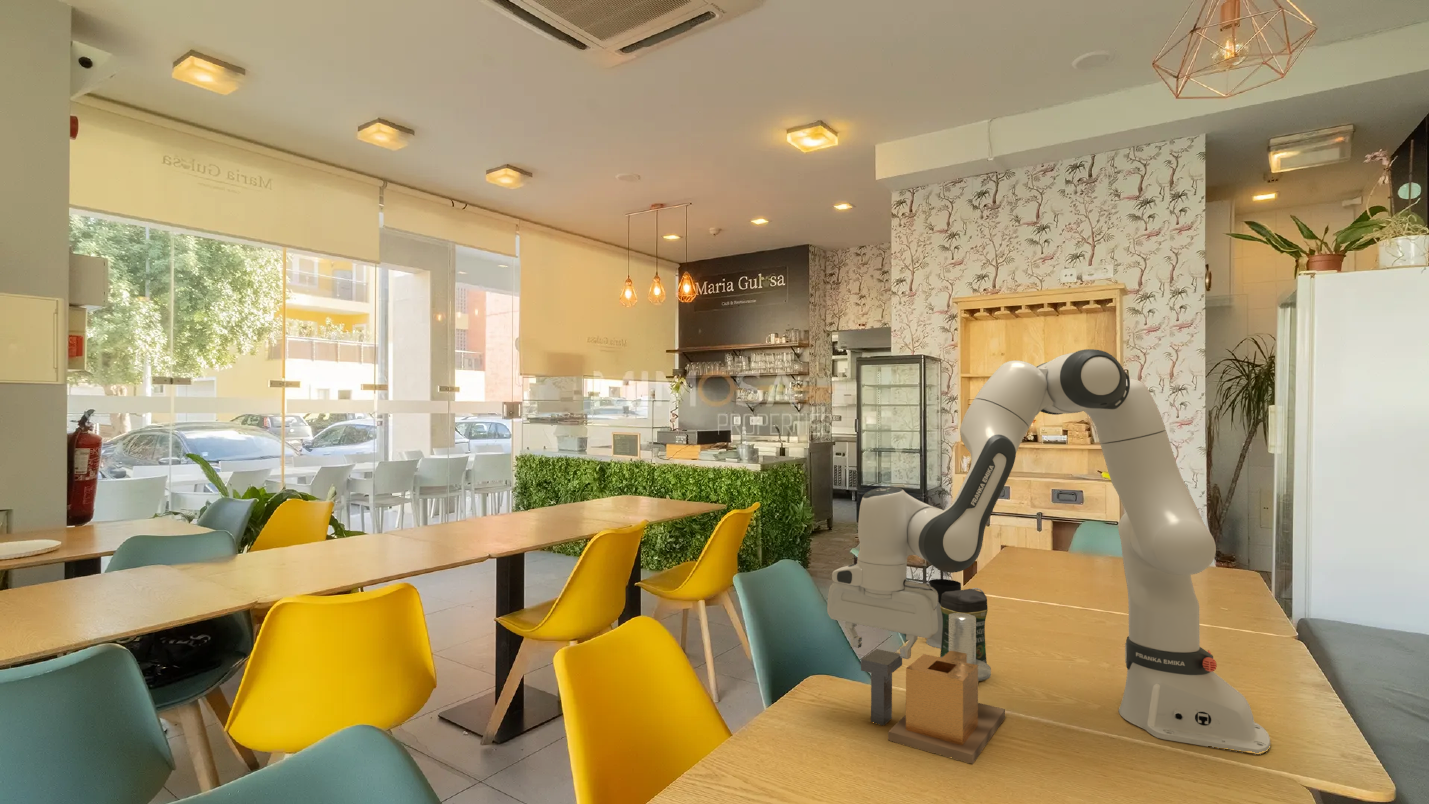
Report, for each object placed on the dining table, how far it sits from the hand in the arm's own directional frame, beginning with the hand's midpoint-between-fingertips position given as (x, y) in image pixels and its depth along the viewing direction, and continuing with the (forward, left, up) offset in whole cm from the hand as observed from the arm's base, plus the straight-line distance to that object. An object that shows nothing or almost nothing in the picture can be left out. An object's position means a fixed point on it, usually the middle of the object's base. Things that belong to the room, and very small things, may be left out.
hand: (880, 652), depth 128 cm
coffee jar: (-6, -31, -13) cm, 34 cm away
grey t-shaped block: (0, 0, -12) cm, 12 cm away
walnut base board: (-11, -3, -12) cm, 17 cm away
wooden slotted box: (-11, -6, -11) cm, 17 cm away
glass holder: (+2, -53, -13) cm, 55 cm away
